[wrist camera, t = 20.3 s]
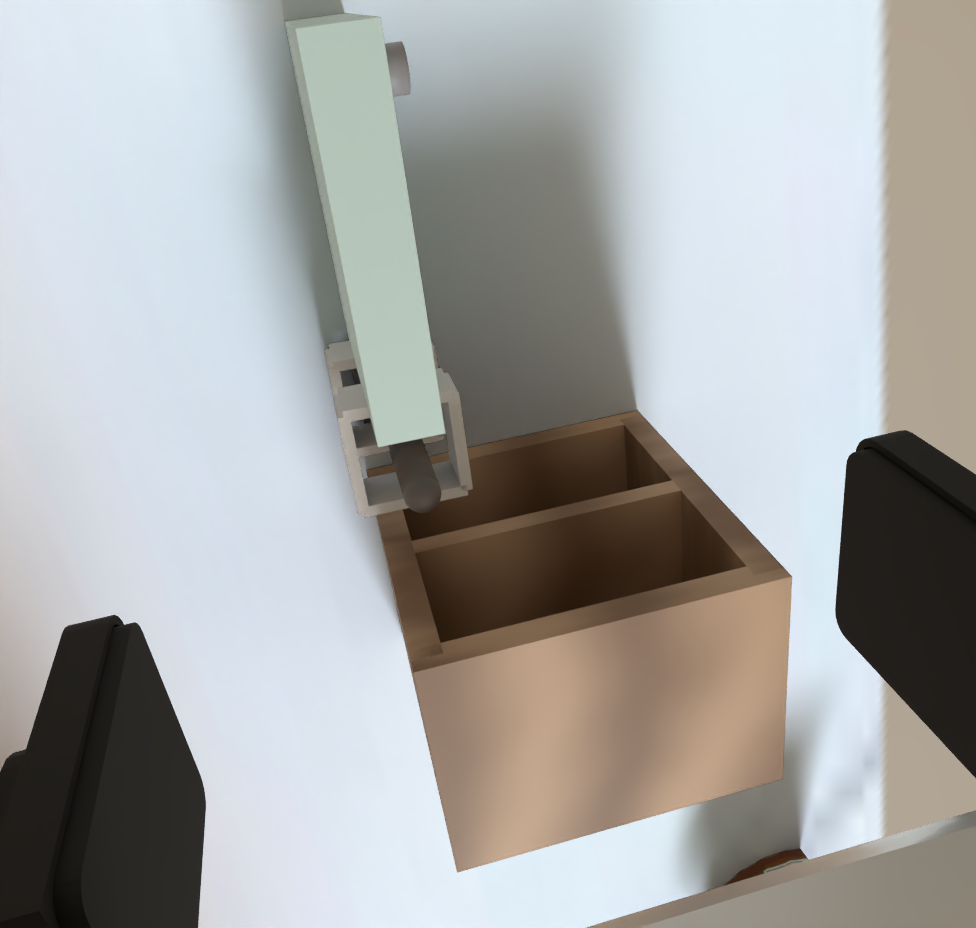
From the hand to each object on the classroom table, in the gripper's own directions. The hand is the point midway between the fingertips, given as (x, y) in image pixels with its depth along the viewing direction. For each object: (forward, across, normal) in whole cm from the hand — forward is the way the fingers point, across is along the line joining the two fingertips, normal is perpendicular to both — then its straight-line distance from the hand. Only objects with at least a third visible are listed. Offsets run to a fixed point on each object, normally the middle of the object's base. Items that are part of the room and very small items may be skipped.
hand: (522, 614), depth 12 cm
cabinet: (+24, -5, +12) cm, 28 cm away
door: (+24, 0, +1) cm, 24 cm away
